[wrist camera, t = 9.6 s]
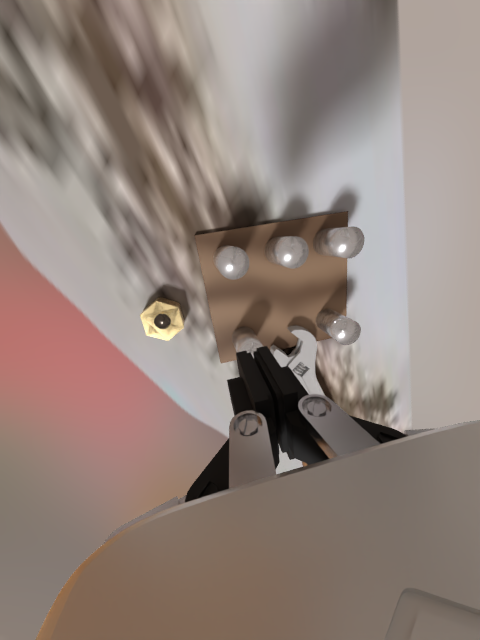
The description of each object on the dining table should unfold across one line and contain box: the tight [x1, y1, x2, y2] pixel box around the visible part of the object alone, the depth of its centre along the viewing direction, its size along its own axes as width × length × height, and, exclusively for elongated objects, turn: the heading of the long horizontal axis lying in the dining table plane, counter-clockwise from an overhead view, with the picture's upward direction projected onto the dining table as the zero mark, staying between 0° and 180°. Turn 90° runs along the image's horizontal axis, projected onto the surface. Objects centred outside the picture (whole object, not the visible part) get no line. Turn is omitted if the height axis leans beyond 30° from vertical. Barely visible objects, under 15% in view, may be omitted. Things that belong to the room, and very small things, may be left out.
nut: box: [140, 297, 184, 341], centre depth 27 cm, size 4×5×2 cm
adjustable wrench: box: [270, 326, 325, 396], centre depth 35 cm, size 25×6×2 cm, turn 25°
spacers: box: [213, 227, 364, 358], centre depth 27 cm, size 13×15×5 cm
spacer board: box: [195, 211, 348, 363], centre depth 29 cm, size 16×18×1 cm
